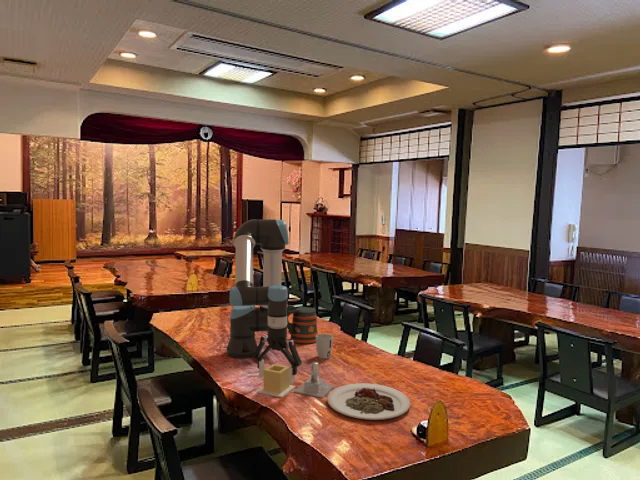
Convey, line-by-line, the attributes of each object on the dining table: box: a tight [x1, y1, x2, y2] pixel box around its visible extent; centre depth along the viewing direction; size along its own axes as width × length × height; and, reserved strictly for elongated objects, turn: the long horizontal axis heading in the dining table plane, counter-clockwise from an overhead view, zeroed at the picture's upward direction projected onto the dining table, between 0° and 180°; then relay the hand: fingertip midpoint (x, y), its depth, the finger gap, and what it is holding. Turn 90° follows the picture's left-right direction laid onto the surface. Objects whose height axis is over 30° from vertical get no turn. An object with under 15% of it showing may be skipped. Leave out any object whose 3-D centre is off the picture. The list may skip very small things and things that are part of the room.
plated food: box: [327, 382, 411, 421], centre depth 172 cm, size 30×30×3 cm
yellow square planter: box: [262, 363, 291, 394], centre depth 183 cm, size 7×7×8 cm
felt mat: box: [256, 384, 297, 399], centre depth 183 cm, size 11×11×1 cm
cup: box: [315, 333, 334, 360], centre depth 222 cm, size 8×8×10 cm
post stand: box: [293, 361, 335, 399], centre depth 184 cm, size 12×12×11 cm
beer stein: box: [286, 304, 319, 345], centre depth 247 cm, size 19×15×20 cm
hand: (276, 379), depth 183 cm, fingers open, 13 cm apart
